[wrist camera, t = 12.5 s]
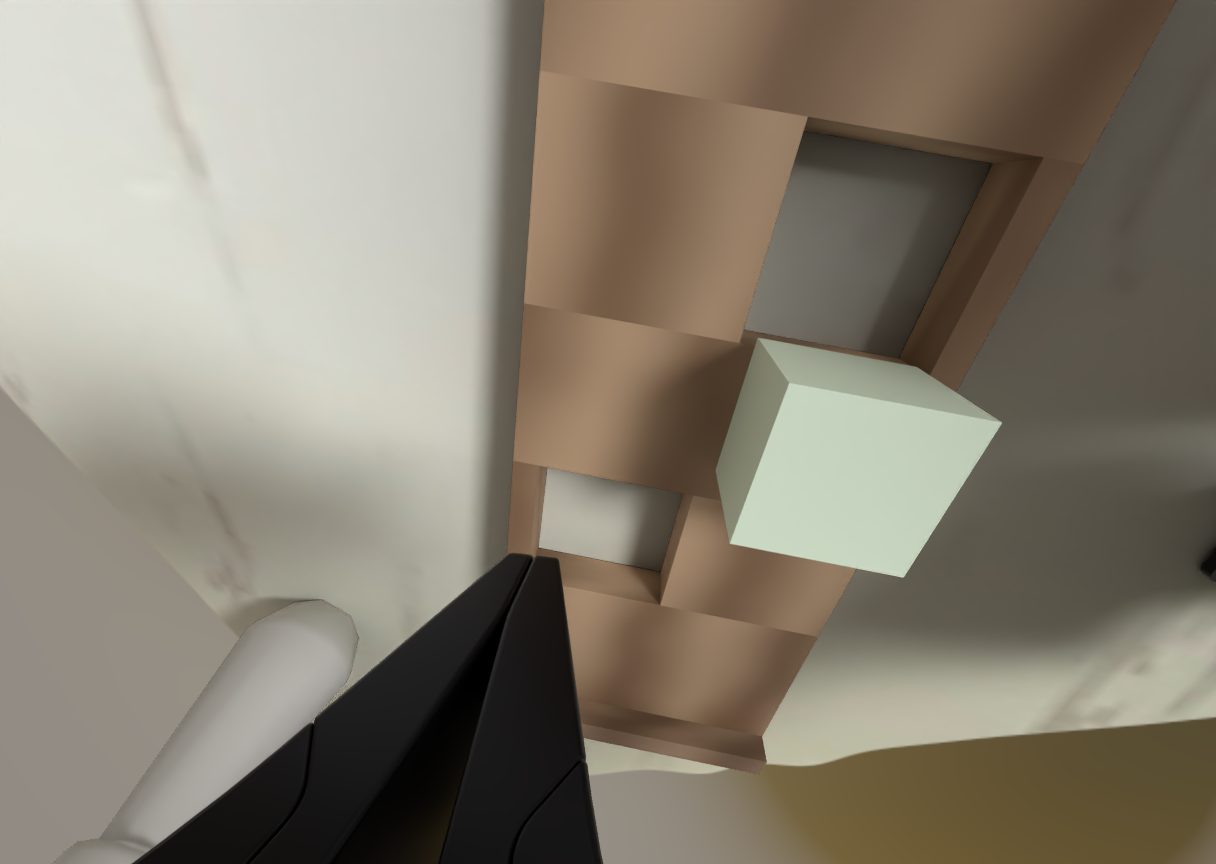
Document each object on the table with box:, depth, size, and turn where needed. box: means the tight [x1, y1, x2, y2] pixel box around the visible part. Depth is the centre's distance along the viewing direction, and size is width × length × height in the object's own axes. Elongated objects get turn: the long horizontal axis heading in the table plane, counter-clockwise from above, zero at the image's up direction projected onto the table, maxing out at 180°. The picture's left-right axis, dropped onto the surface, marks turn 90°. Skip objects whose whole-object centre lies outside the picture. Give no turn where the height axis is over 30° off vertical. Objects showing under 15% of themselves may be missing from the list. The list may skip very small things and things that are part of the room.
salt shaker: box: [52, 600, 359, 864], centre depth 21 cm, size 6×6×13 cm
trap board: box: [507, 0, 1176, 774], centre depth 17 cm, size 14×32×3 cm, turn 171°
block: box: [716, 338, 1002, 578], centre depth 13 cm, size 5×5×4 cm
